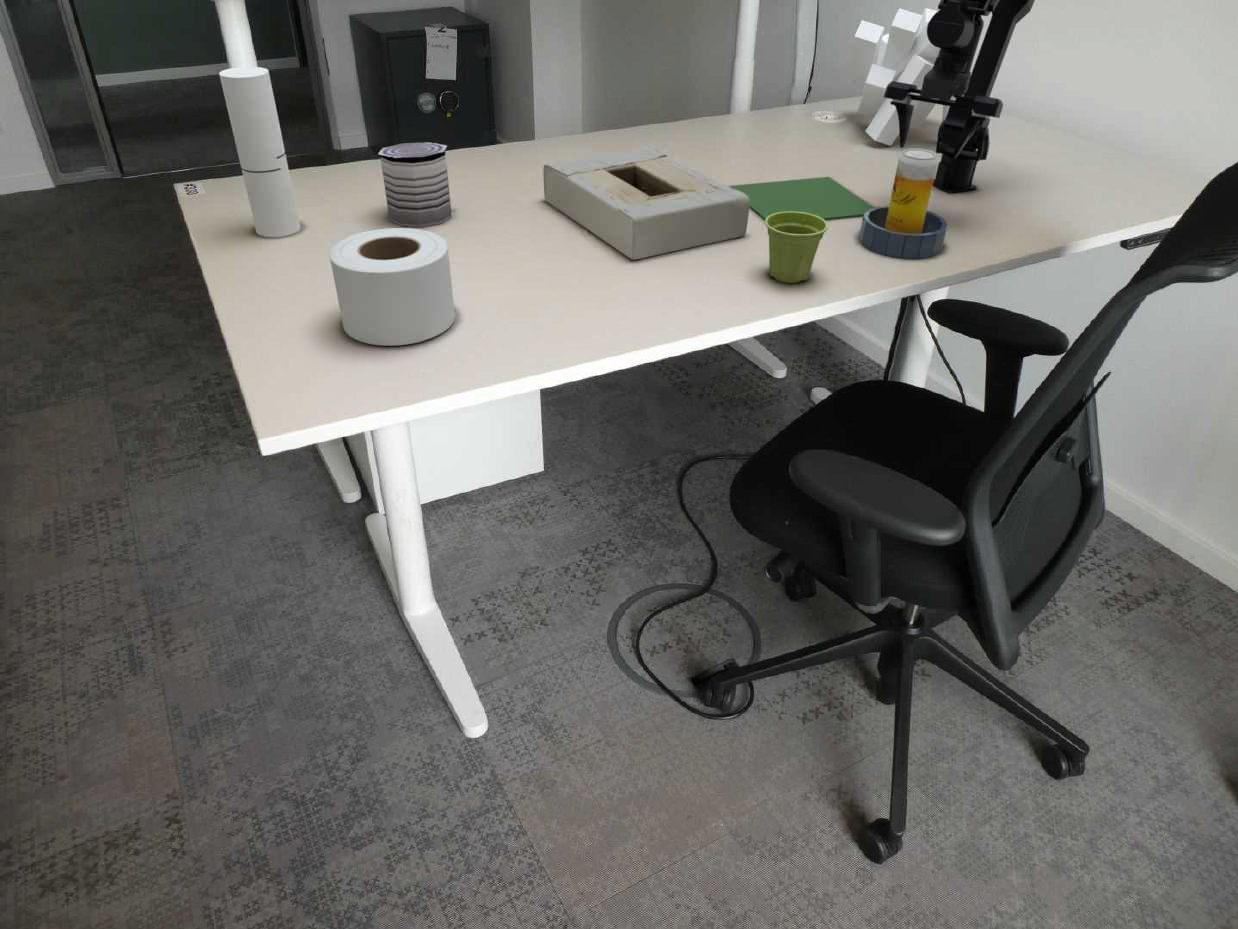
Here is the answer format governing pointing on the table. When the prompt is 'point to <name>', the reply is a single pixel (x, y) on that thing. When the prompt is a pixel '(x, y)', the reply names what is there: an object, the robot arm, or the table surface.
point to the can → (416, 184)
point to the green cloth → (804, 198)
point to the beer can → (911, 191)
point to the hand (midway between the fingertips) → (927, 152)
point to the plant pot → (793, 244)
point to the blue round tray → (902, 235)
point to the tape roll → (393, 285)
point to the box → (645, 201)
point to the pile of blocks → (892, 69)
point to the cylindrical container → (260, 150)
